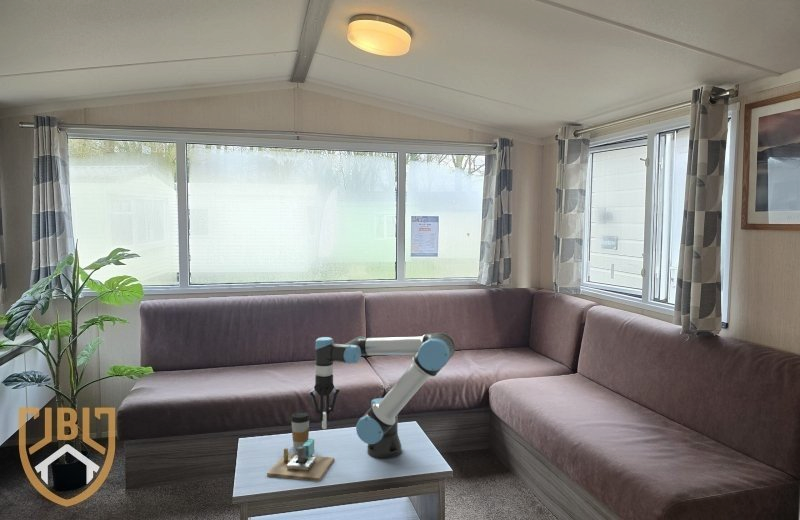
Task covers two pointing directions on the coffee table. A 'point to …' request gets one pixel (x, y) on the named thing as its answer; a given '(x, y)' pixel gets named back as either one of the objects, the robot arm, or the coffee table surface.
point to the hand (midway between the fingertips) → (324, 427)
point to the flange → (308, 459)
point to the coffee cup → (300, 428)
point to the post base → (312, 474)
